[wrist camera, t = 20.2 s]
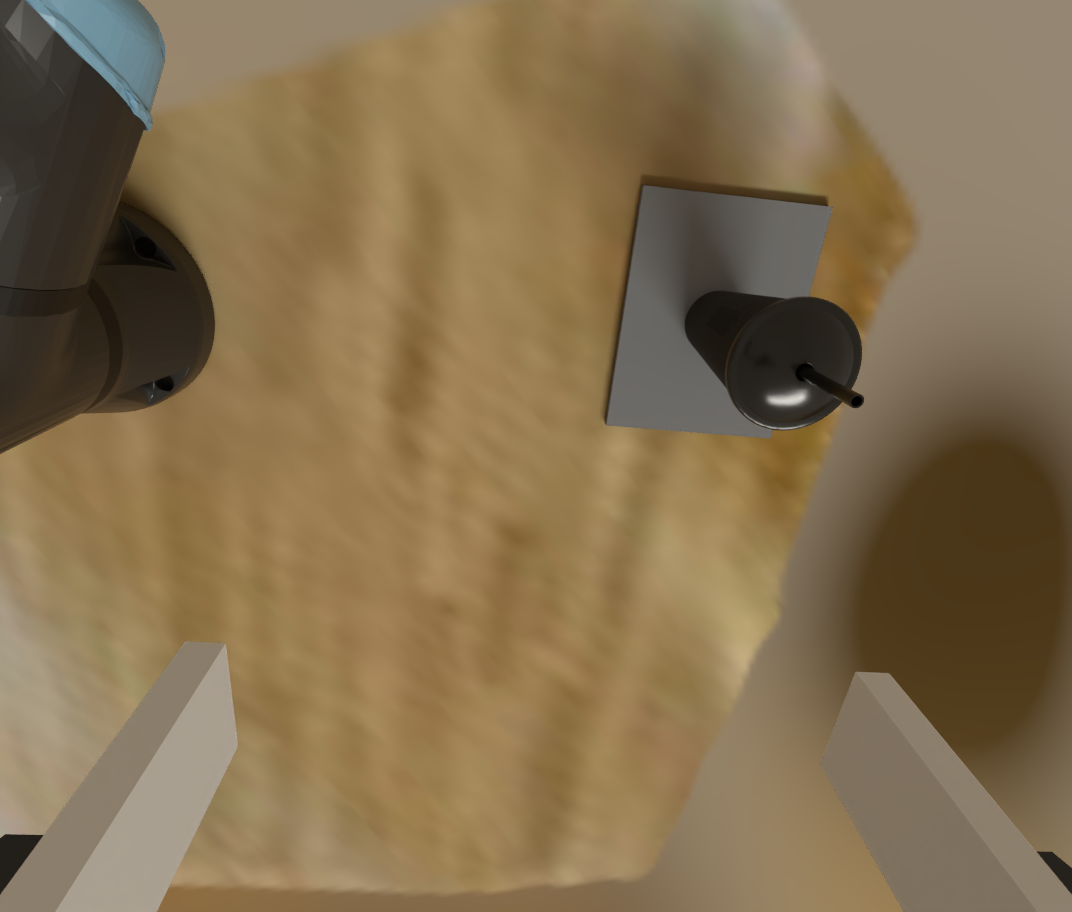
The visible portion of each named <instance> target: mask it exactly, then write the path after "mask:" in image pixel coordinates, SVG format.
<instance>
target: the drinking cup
mask: <svg viewBox="0 0 1072 912" xmlns="http://www.w3.org/2000/svg"><path fill="white" fill-rule="evenodd" d="M685 332H686V336H687V339H688V340H689V342H690V343H691V345H692V346H693V347H694V348H695V350H696V351H697V352H698V353H699V355H700V356H701V357H702V359H703V360H704V361H705V362H706V364H707V365H708V366H709V367H710V369H711V370H712V371H713V372H714V374H715V375H716V376H717V377H718V379H719V380H720V381H721V382H722V384H723V385H724V386H725V387H726V389H727V391H728V394H729V397H730V399H731V401H732V403H733V404H734V406H735V407H736V408H737V410H738V411H739V412H740V413H741V414H742V415H743V416H744V417H745V418H747V419H748V420H749V421H751V422H752V423H754V424H756V425H758V426H761V427H763V428H767V429H772V430H793V429H798V428H802V427H805V426H808V425H811V424H813V423H815V422H817V421H819V420H821V419H823V418H824V417H826V416H827V415H828V414H830V413H831V412H832V411H833V410H835V409H836V408H837V407H838V406H839V405H840V404H841V403H842V402H844V403H845V404H847V405H849V406H851V407H852V408H858V407H860V406H861V405H862V404H863V402H864V397H863V396H862V395H860V394H859V393H857V392H855V391H853V390H851V389H852V387H853V385H854V383H855V381H856V379H857V376H858V373H859V370H860V366H861V360H862V345H861V339H860V335H859V332H858V329H857V327H856V325H855V323H854V322H853V320H852V319H851V317H850V316H849V315H848V314H847V313H846V312H845V311H844V310H843V309H841V308H840V307H839V306H837V305H835V304H834V303H832V302H829V301H827V300H824V299H820V298H816V297H807V296H801V297H792V298H787V299H786V298H778V297H770V296H762V295H754V294H745V293H737V292H729V291H713V292H709V293H707V294H704V295H703V296H701V297H700V298H698V299H697V300H696V301H695V302H694V303H693V305H692V306H691V307H690V309H689V311H688V313H687V316H686V320H685Z"/></svg>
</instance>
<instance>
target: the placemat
mask: <svg viewBox="0 0 1072 912" xmlns="http://www.w3.org/2000/svg"><path fill="white" fill-rule="evenodd" d="M832 208H833V207H829V206H820V205H811V204H803V203H794V202H785V201H777V200H768V199H759V198H751V197H742V196H733V195H725V194H716V193H707V192H699V191H690V190H681V189H673V188H664V187H655V186H647V185H642V188H641V194H640V201H639V207H638V213H637V220H636V226H635V233H634V239H633V246H632V252H631V259H630V265H629V272H628V278H627V285H626V291H625V298H624V304H623V311H622V317H621V324H620V330H619V337H618V343H617V350H616V356H615V363H614V369H613V376H612V382H611V389H610V395H609V401H608V408H607V414H606V421H605V423H606V425H609V426H622V427H634V428H647V429H660V430H672V431H685V432H697V433H710V434H722V435H735V436H748V437H760V438H771V435H772V431H773V430H772V429H767V428H763V427H761V426H758V425H756V424H754V423H752V422H751V421H749V420H748V419H747V418H745V417H744V416H743V415H742V414H741V413H740V412H739V411H738V410H737V408H736V407H735V406H734V404H733V403H732V401H731V399H730V397H729V394H728V391H727V389H726V387H725V386H724V385H723V384H722V382H721V381H720V380H719V379H718V377H717V376H716V375H715V374H714V372H713V371H712V370H711V369H710V367H709V366H708V365H707V364H706V362H705V361H704V360H703V359H702V357H701V356H700V355H699V353H698V352H697V351H696V350H695V348H694V347H693V346H692V345H691V343H690V342H689V340H688V339H687V336H686V332H685V320H686V316H687V313H688V311H689V309H690V307H691V306H692V305H693V303H694V302H695V301H696V300H697V299H698V298H700V297H701V296H703V295H704V294H707V293H709V292H713V291H729V292H737V293H745V294H754V295H762V296H770V297H778V298H786V299H787V298H792V297H801V296H807V297H809V293H810V290H811V286H812V282H813V279H814V275H815V271H816V267H817V264H818V260H819V256H820V253H821V249H822V245H823V241H824V238H825V234H826V230H827V227H828V223H829V219H830V215H831V212H832Z"/></svg>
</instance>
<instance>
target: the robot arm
mask: <svg viewBox="0 0 1072 912" xmlns="http://www.w3.org/2000/svg"><path fill="white" fill-rule="evenodd" d="M164 63H165V44H164V41H163V38H162V35H161V32H160V30H159V27H158V25H157V23H156V22H155V21H154V19H153V17H152V16H151V14H150V13H149V12H148V11H147V9H146V8H145V7H144V6H143V5H142V4H141V3H140V2H139V1H138V0H0V454H1V453H3V452H5V451H7V450H9V449H11V448H13V447H15V446H17V445H19V444H21V443H23V442H25V441H27V440H29V439H31V438H33V437H35V436H37V435H39V434H41V433H43V432H45V431H47V430H49V429H51V428H53V427H55V426H57V425H59V424H61V423H63V422H65V421H67V420H69V419H71V418H73V417H75V416H77V415H79V414H81V413H116V412H130V411H136V410H140V409H144V408H147V407H150V406H153V405H156V404H158V403H160V402H162V401H164V400H166V399H168V398H170V397H171V396H173V395H175V394H177V393H178V392H180V391H181V390H183V389H184V388H186V387H187V386H188V385H189V384H190V383H191V382H192V381H194V379H195V378H196V377H197V376H198V375H199V373H200V372H201V371H202V369H203V367H204V366H205V364H206V362H207V360H208V358H209V355H210V352H211V349H212V345H213V340H214V331H215V321H214V311H213V305H212V301H211V297H210V294H209V291H208V288H207V285H206V283H205V281H204V278H203V276H202V274H201V272H200V270H199V268H198V267H197V265H196V264H195V262H194V260H193V259H192V258H191V256H190V255H189V253H188V252H187V251H186V249H185V248H184V247H183V246H182V245H181V244H180V242H179V241H178V240H177V239H176V238H175V237H174V236H173V235H172V234H171V233H170V232H169V231H167V230H166V229H165V228H164V227H163V226H162V225H160V224H159V223H158V222H156V221H155V220H154V219H152V218H151V217H149V216H148V215H146V214H144V213H143V212H141V211H139V210H137V209H136V208H134V207H132V206H129V205H127V204H125V203H123V202H120V201H119V200H120V197H121V194H122V191H123V189H124V186H125V183H126V180H127V177H128V174H129V171H130V168H131V165H132V162H133V160H134V157H135V154H136V151H137V148H138V145H139V142H140V139H141V136H142V133H143V131H144V130H146V131H150V130H151V127H152V122H153V121H152V117H151V114H150V112H151V108H152V105H153V101H154V98H155V95H156V91H157V88H158V84H159V81H160V77H161V74H162V70H163V67H164ZM237 747H238V742H237V734H236V725H235V717H234V709H233V701H232V692H231V684H230V676H229V667H228V659H227V651H226V643H207V642H184V644H183V645H182V646H181V648H180V649H179V651H178V652H177V653H176V655H175V656H174V657H173V659H172V660H171V662H170V663H169V664H168V666H167V667H166V668H165V670H164V671H163V672H162V674H161V675H160V677H159V678H158V679H157V681H156V682H155V683H154V685H153V686H152V688H151V689H150V690H149V692H148V693H147V694H146V696H145V697H144V699H143V700H142V701H141V703H140V704H139V705H138V707H137V708H136V709H135V711H134V712H133V714H132V715H131V716H130V718H129V719H128V720H127V722H126V723H125V725H124V726H123V727H122V729H121V730H120V731H119V733H118V734H117V736H116V737H115V738H114V740H113V741H112V742H111V744H110V745H109V746H108V748H107V749H106V751H105V752H104V753H103V755H102V756H101V757H100V759H99V760H98V762H97V763H96V764H95V766H94V767H93V768H92V770H91V771H90V772H89V774H88V775H87V777H86V778H85V779H84V781H83V782H82V783H81V785H80V786H79V788H78V789H77V790H76V792H75V793H74V794H73V796H72V797H71V799H70V800H69V801H68V803H67V804H66V805H65V807H64V808H63V809H62V811H61V812H60V814H59V815H58V816H57V818H56V819H55V820H54V822H53V823H52V825H51V826H50V827H49V829H48V830H47V831H46V833H45V834H44V835H10V834H5V835H4V836H3V837H1V838H0V912H157V910H158V908H159V906H160V904H161V902H162V900H163V897H164V895H165V893H166V892H167V889H168V888H169V886H170V883H171V881H172V879H173V877H174V875H175V873H176V871H177V869H178V867H179V865H180V863H181V861H182V859H183V857H184V855H185V853H186V851H187V849H188V847H189V845H190V843H191V841H192V839H193V837H194V835H195V833H196V830H197V828H198V826H199V824H200V822H201V820H202V818H203V816H204V814H205V812H206V810H207V808H208V806H209V804H210V802H211V800H212V798H213V796H214V794H215V792H216V790H217V788H218V786H219V784H220V782H221V780H222V778H223V775H224V773H225V771H226V769H227V767H228V765H229V763H230V761H231V759H232V757H233V755H234V753H235V751H236V749H237ZM820 765H821V767H822V768H823V771H824V772H825V774H826V776H827V778H828V779H829V781H830V783H831V785H832V786H833V788H834V790H835V792H836V793H837V795H838V797H839V799H840V801H841V802H842V804H843V806H844V807H845V809H846V811H847V813H848V815H849V816H850V818H851V820H852V822H853V823H854V825H855V827H856V829H857V831H858V832H859V834H860V836H861V838H862V839H863V841H864V843H865V845H866V846H867V848H868V850H869V852H870V853H871V855H872V857H873V859H874V860H875V862H876V864H877V866H878V867H879V869H880V871H881V873H882V875H883V876H884V878H885V880H886V881H887V883H888V885H889V887H890V888H891V890H892V892H893V894H894V896H895V898H896V899H897V901H898V903H899V904H900V906H901V908H902V910H903V912H1072V868H1071V867H1070V866H1068V865H1067V864H1066V863H1065V862H1063V861H1062V860H1061V859H1060V858H1059V857H1057V856H1056V855H1055V854H1054V853H1053V852H1036V851H1035V849H1034V848H1033V847H1032V846H1031V845H1030V843H1029V842H1028V841H1027V840H1026V839H1025V837H1024V836H1023V835H1022V834H1021V832H1020V831H1019V830H1018V829H1017V828H1016V826H1015V825H1014V824H1013V823H1012V822H1011V820H1010V819H1009V818H1008V817H1007V816H1006V814H1005V813H1004V812H1003V811H1002V810H1001V808H1000V807H999V806H998V805H997V803H996V802H995V801H994V800H993V799H992V797H991V796H990V795H989V794H988V793H987V791H986V790H985V789H984V788H983V786H982V785H981V784H980V783H979V782H978V780H977V779H976V778H975V777H974V776H973V774H972V773H971V772H970V771H969V770H968V768H967V767H966V766H965V765H964V763H963V762H962V761H961V760H960V759H959V758H958V756H957V755H956V754H955V753H954V751H953V750H952V749H951V748H950V746H949V745H948V744H947V743H946V742H945V740H944V739H943V738H942V737H941V736H940V734H939V733H938V732H937V731H936V730H935V728H934V727H933V726H932V725H931V724H930V722H929V721H928V720H927V719H926V718H925V716H924V715H923V714H922V713H921V711H920V710H919V709H918V708H917V707H916V705H915V704H914V703H913V702H912V701H911V699H910V698H909V697H908V696H907V694H906V693H905V692H904V691H903V690H902V688H901V687H900V686H899V685H898V684H897V682H896V681H895V680H894V679H893V678H892V676H891V675H890V674H889V673H870V672H855V675H854V678H853V680H852V683H851V685H850V688H849V690H848V693H847V695H846V698H845V701H844V703H843V706H842V708H841V711H840V713H839V716H838V719H837V721H836V724H835V726H834V729H833V731H832V734H831V737H830V739H829V742H828V744H827V747H826V750H825V752H824V755H823V757H822V760H821V763H820Z"/></svg>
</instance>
